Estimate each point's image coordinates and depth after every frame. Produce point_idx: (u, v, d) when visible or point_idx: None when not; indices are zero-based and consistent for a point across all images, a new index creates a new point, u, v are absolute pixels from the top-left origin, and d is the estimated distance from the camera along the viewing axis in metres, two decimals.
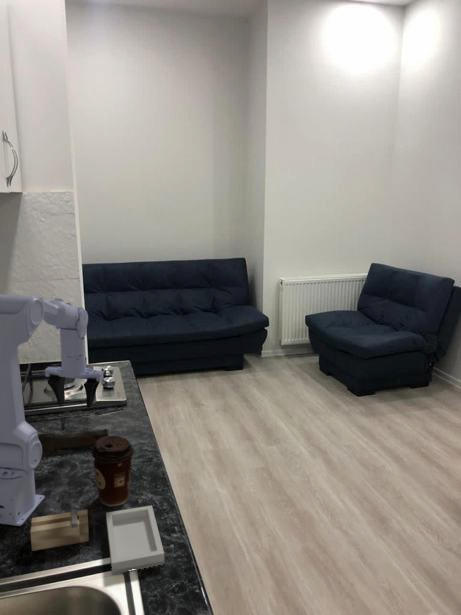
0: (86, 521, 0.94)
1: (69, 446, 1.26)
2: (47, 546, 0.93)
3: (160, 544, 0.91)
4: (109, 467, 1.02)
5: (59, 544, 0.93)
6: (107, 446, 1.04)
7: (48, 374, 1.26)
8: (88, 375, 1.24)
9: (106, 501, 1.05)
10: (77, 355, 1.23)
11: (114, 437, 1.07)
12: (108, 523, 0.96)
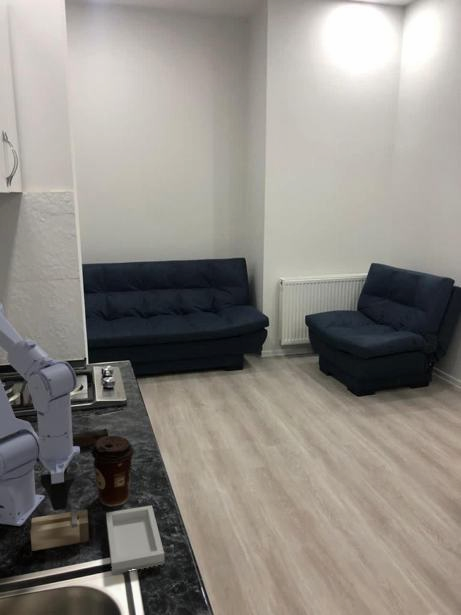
0: (86, 521, 0.94)
1: None
2: (47, 546, 0.93)
3: (160, 544, 0.91)
4: (109, 467, 1.02)
5: (59, 544, 0.93)
6: (107, 446, 1.04)
7: None
8: (47, 467, 0.87)
9: (106, 501, 1.05)
10: None
11: (114, 437, 1.07)
12: (108, 523, 0.96)
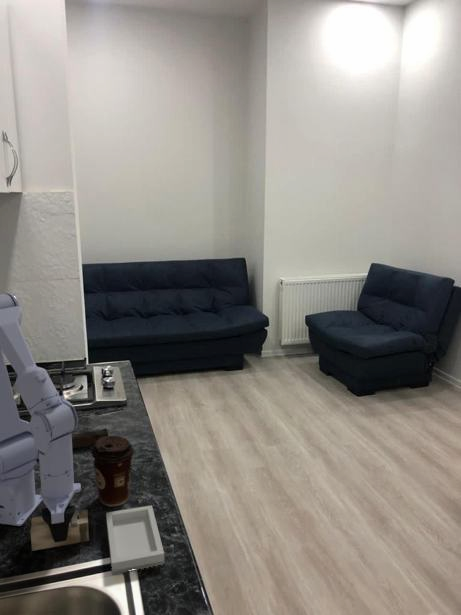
0: (86, 521, 0.94)
1: None
2: (47, 546, 0.93)
3: (160, 544, 0.91)
4: (109, 467, 1.02)
5: (59, 544, 0.93)
6: (107, 446, 1.04)
7: None
8: (48, 506, 0.88)
9: (106, 501, 1.05)
10: None
11: (114, 437, 1.07)
12: (108, 523, 0.96)
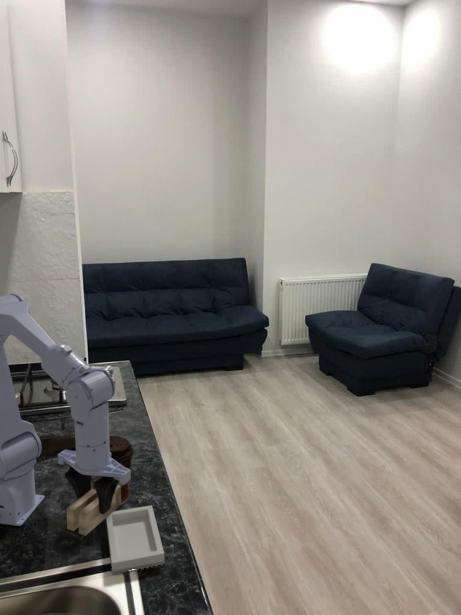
0: (118, 485, 0.95)
1: (69, 447, 1.25)
2: (95, 524, 0.89)
3: (160, 544, 0.91)
4: None
5: (103, 518, 0.91)
6: None
7: (61, 461, 0.91)
8: (108, 474, 0.86)
9: None
10: (75, 438, 0.87)
11: (114, 437, 1.07)
12: (108, 523, 0.96)
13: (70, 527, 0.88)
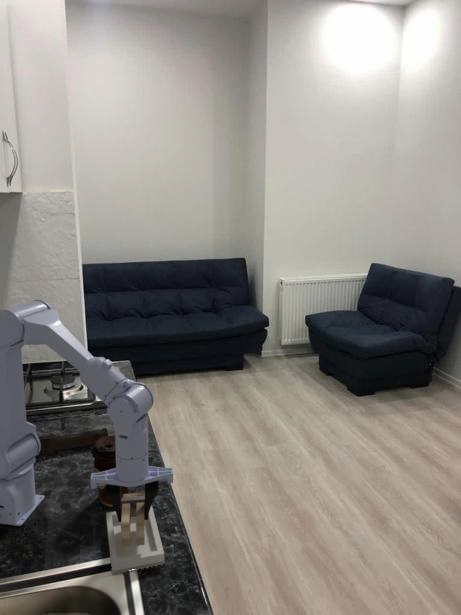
0: (142, 493, 0.98)
1: (70, 447, 1.25)
2: (144, 533, 0.92)
3: (160, 544, 0.91)
4: (109, 467, 1.02)
5: None
6: (107, 446, 1.04)
7: (95, 485, 0.90)
8: (157, 478, 0.90)
9: (106, 501, 1.05)
10: (116, 452, 0.89)
11: (114, 437, 1.07)
12: (108, 523, 0.96)
13: (125, 544, 0.89)
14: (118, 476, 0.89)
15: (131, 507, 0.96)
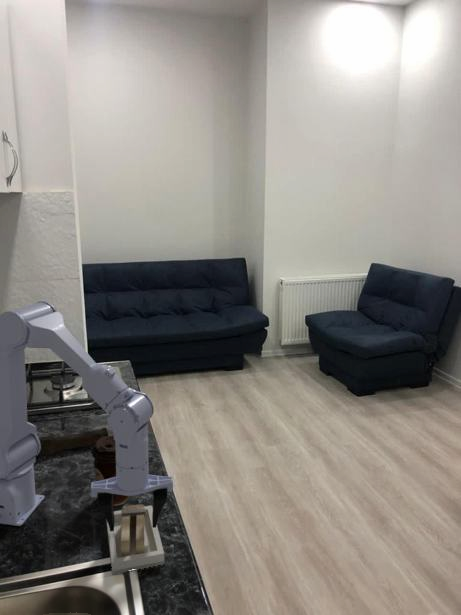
0: (142, 505, 0.98)
1: (70, 447, 1.25)
2: None
3: (160, 544, 0.91)
4: (109, 467, 1.02)
5: None
6: (107, 446, 1.04)
7: (96, 494, 0.90)
8: (157, 487, 0.91)
9: None
10: (116, 461, 0.89)
11: None
12: None
13: None
14: (118, 485, 0.90)
15: (131, 519, 0.97)
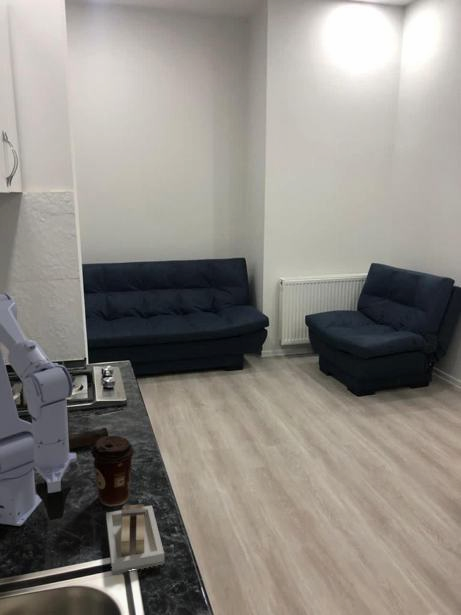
0: (142, 505, 0.98)
1: (70, 447, 1.25)
2: None
3: (160, 544, 0.91)
4: (109, 467, 1.02)
5: None
6: (107, 446, 1.04)
7: None
8: (43, 475, 0.84)
9: (106, 501, 1.05)
10: None
11: (114, 437, 1.07)
12: (108, 523, 0.96)
13: None
14: None
15: (131, 519, 0.97)
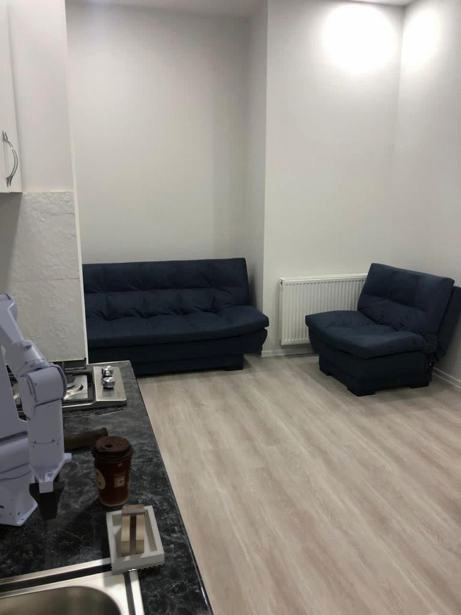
0: (142, 505, 0.98)
1: (70, 448, 1.25)
2: None
3: (160, 544, 0.91)
4: (109, 467, 1.02)
5: None
6: (107, 446, 1.04)
7: None
8: (36, 475, 0.83)
9: (106, 501, 1.05)
10: None
11: (114, 437, 1.07)
12: (108, 523, 0.96)
13: None
14: None
15: (131, 519, 0.97)
